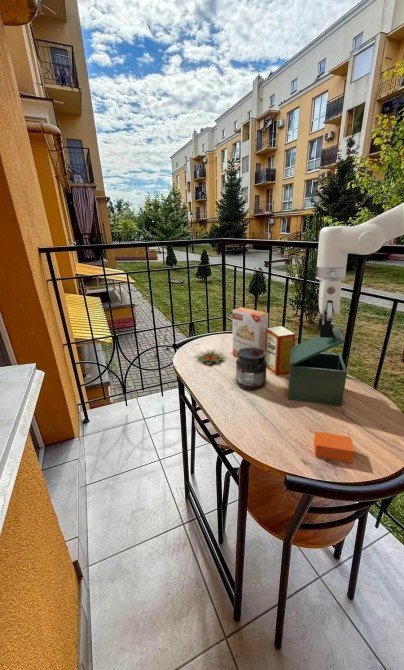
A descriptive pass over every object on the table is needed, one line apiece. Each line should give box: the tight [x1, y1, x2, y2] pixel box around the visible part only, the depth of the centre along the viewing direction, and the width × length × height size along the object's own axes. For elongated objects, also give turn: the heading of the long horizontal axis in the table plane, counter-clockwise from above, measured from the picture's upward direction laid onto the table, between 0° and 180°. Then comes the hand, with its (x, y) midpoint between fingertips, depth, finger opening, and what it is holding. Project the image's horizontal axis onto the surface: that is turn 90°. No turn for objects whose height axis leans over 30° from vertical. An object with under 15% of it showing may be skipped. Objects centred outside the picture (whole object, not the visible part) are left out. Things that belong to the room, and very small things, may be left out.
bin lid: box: [290, 325, 346, 366], centre depth 87 cm, size 16×13×5 cm
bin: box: [287, 352, 348, 407], centre depth 90 cm, size 16×13×12 cm
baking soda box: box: [265, 325, 296, 377], centre depth 106 cm, size 10×6×16 cm
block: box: [313, 431, 355, 464], centre depth 67 cm, size 8×5×3 cm, turn 73°
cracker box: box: [232, 306, 269, 357], centre depth 115 cm, size 14×6×21 cm, turn 42°
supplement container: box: [235, 348, 267, 391], centre depth 97 cm, size 10×10×12 cm
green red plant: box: [196, 348, 225, 366], centre depth 118 cm, size 12×12×5 cm
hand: (324, 333), depth 85 cm, fingers closed on bin lid, 5 cm apart
